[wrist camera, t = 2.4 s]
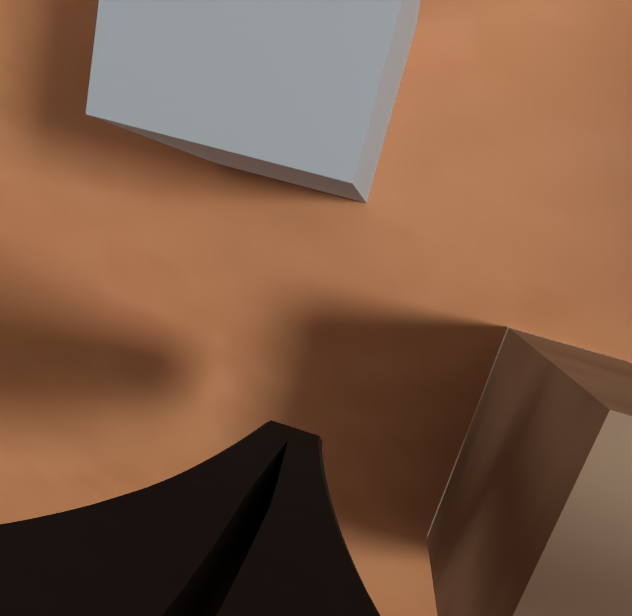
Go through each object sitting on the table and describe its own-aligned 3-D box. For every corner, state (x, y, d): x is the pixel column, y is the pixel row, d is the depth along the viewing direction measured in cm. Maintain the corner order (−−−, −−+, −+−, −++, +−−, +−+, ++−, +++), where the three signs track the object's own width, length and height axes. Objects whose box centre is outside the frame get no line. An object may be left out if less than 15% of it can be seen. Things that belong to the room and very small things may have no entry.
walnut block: (525, 568, 14) (622, 803, 8) (426, 534, 15) (454, 738, 9) (623, 359, 12) (832, 475, 7) (506, 326, 13) (610, 409, 7)
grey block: (366, 203, 13) (352, 183, 7) (216, 163, 13) (85, 113, 7) (416, 26, 12) (450, -178, 6) (250, -10, 12) (125, -230, 6)
